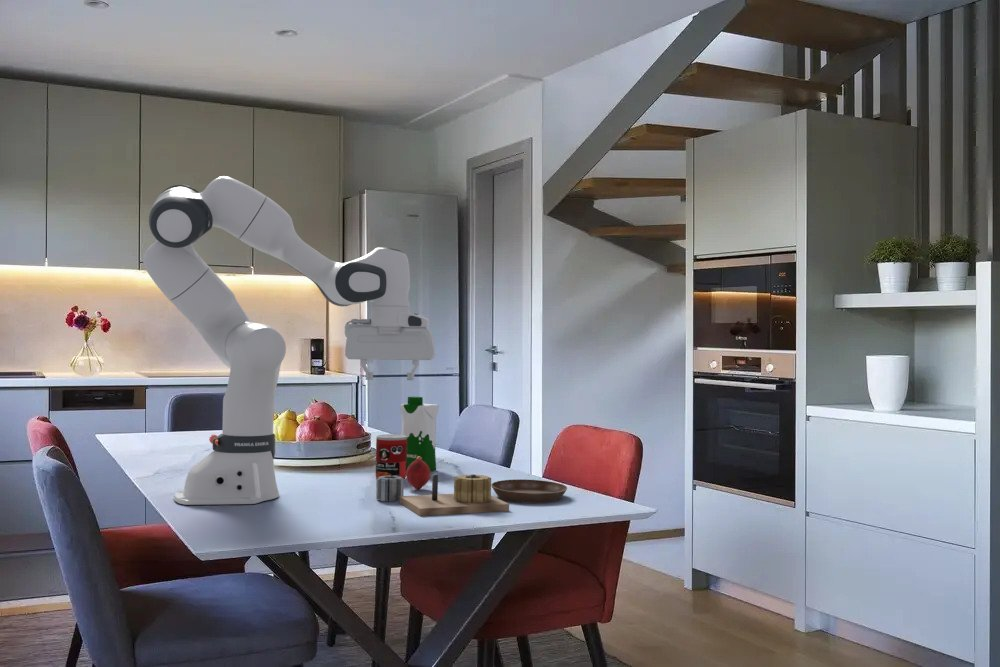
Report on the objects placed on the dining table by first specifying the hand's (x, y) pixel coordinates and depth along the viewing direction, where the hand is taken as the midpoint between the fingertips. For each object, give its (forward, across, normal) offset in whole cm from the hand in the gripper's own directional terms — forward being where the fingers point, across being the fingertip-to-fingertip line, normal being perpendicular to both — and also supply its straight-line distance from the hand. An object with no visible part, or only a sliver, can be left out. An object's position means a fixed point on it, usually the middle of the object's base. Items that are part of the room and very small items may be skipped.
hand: (389, 380), depth 220 cm
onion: (+27, +6, +11) cm, 30 cm away
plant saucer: (+28, +32, +4) cm, 43 cm away
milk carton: (+27, +3, +41) cm, 49 cm away
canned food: (+27, -3, +26) cm, 37 cm away
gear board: (+27, +15, -10) cm, 33 cm away
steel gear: (+27, 0, -3) cm, 27 cm away
